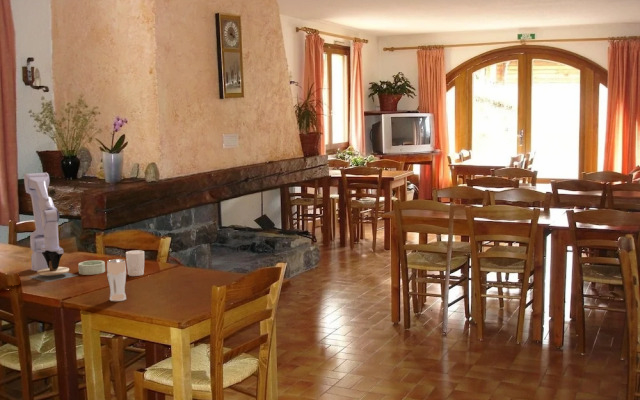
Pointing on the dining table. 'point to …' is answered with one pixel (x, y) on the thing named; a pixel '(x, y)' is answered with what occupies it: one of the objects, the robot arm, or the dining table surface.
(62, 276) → the mat
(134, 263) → the white cup
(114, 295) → the beer glass
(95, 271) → the bowl
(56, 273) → the lid
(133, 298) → the dining table surface
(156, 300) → the dining table surface
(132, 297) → the dining table surface
